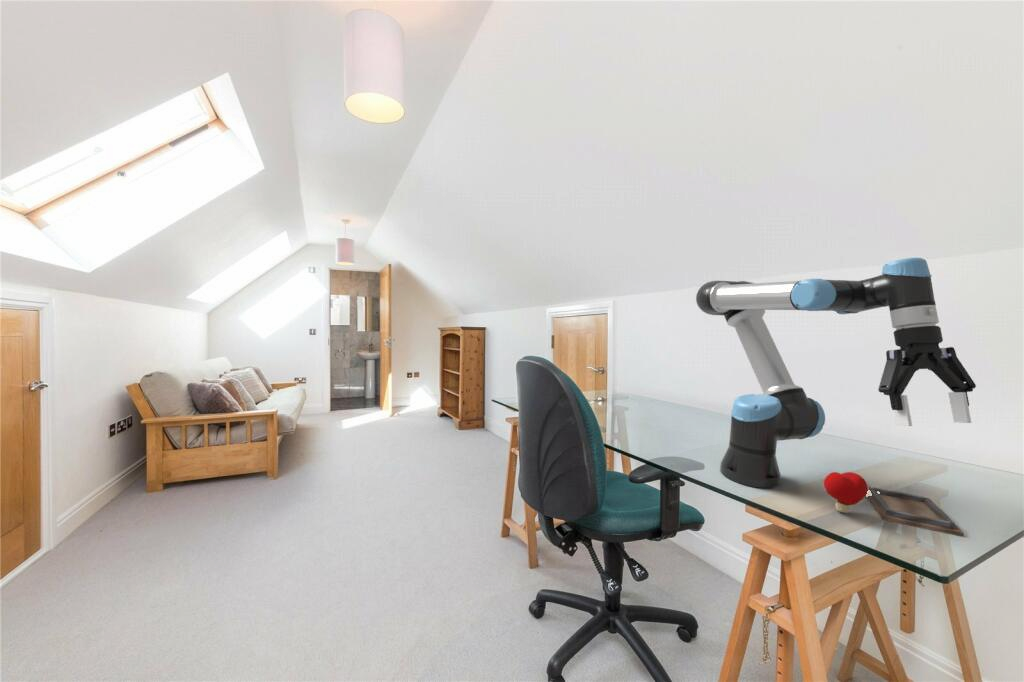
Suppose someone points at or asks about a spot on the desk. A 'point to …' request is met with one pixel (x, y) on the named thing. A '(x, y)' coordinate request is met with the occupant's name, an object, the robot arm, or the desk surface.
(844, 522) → the desk surface
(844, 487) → the red heart on stub
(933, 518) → the dark wooden picture frame
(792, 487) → the desk surface
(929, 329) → the robot arm
